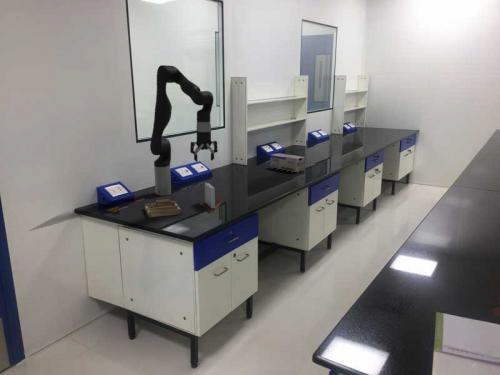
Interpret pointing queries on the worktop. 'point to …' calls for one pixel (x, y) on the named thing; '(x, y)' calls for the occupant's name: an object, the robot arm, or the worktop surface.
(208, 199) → the pvc sheet
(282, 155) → the surgical sutures box
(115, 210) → the decorative fence
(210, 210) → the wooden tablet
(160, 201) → the offcut upper
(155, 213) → the rack
